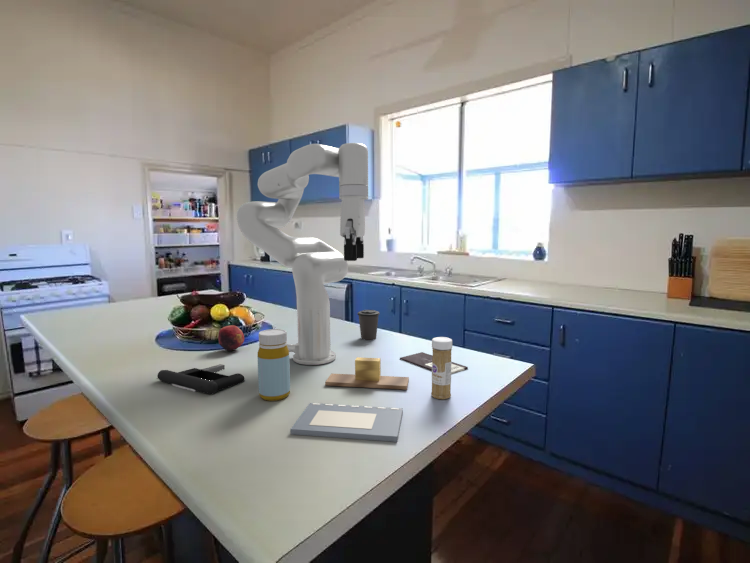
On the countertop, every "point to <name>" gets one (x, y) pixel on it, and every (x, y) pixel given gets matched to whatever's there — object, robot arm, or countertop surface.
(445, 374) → the sprinkles bottle
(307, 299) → the robot arm
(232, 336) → the fruit
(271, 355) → the bottle
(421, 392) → the countertop surface
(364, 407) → the ticket
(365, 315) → the coffee cup
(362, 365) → the stub
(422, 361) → the chocolate bar
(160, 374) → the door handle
